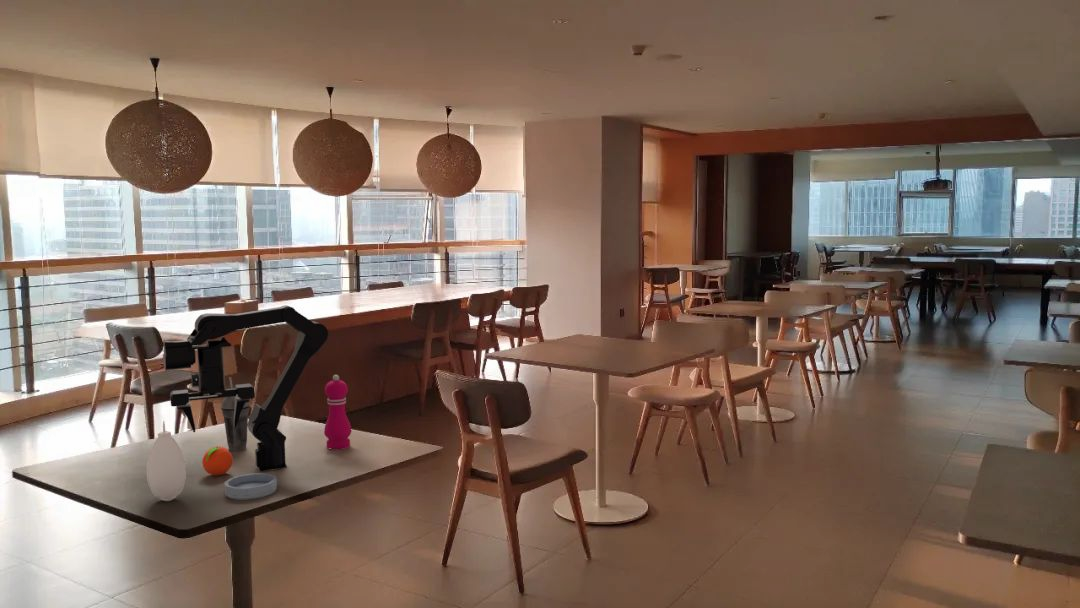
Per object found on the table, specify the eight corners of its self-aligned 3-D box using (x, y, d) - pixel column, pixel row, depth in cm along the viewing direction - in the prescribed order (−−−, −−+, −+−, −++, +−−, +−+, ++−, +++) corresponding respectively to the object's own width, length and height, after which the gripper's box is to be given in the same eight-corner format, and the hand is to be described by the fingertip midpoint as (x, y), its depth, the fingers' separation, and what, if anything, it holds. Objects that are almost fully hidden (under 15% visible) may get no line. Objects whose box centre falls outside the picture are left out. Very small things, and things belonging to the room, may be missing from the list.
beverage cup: (257, 447, 224) (254, 375, 222) (234, 453, 218) (231, 380, 216) (240, 443, 228) (236, 373, 226) (217, 450, 222) (213, 377, 220)
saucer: (273, 481, 194) (272, 470, 194) (280, 495, 185) (279, 483, 184) (223, 488, 190) (223, 477, 189) (228, 502, 180) (227, 491, 180)
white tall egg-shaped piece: (141, 502, 181) (136, 422, 179) (173, 492, 188) (168, 414, 186) (162, 508, 177) (158, 426, 175) (194, 497, 183) (190, 418, 182)
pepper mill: (339, 441, 229) (337, 371, 227) (357, 445, 225) (355, 373, 223) (319, 447, 224) (316, 375, 222) (336, 451, 219) (334, 378, 217)
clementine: (220, 481, 195) (218, 452, 194) (194, 479, 197) (192, 450, 196) (239, 471, 203) (237, 443, 202) (213, 470, 204) (212, 442, 204)
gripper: (248, 357, 208) (251, 418, 210) (167, 364, 200) (171, 427, 202) (253, 364, 198) (256, 427, 200) (168, 371, 190) (173, 437, 192)
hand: (214, 429), depth 199 cm, fingers open, 9 cm apart
